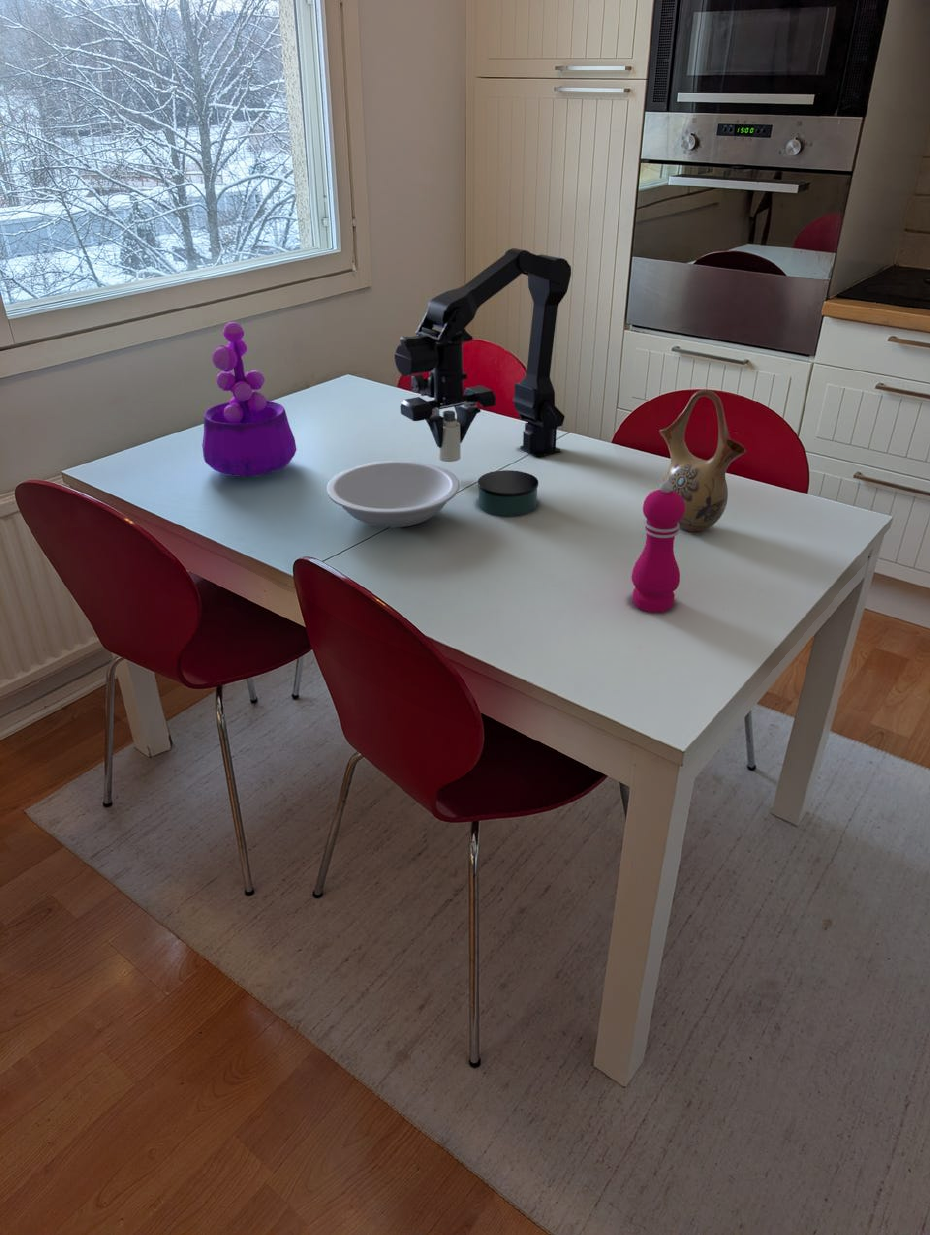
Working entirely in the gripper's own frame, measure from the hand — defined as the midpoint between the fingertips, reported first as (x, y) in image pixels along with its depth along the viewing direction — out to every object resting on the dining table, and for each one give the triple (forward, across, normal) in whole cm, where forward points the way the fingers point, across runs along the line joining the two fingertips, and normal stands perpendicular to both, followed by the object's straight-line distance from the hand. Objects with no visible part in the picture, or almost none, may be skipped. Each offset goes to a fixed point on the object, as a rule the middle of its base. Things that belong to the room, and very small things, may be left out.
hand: (449, 444), depth 178 cm
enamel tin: (+7, -2, +18) cm, 19 cm away
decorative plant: (+7, +33, -25) cm, 42 cm away
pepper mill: (+7, 0, +61) cm, 61 cm away
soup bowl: (+7, +19, +12) cm, 24 cm away
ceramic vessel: (+7, -24, +44) cm, 51 cm away
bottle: (+3, 0, 0) cm, 3 cm away
